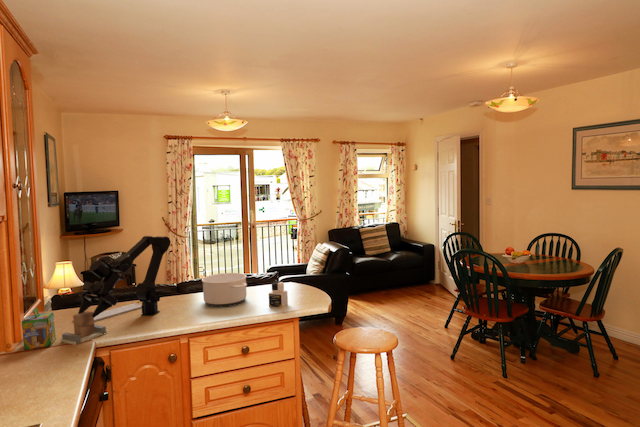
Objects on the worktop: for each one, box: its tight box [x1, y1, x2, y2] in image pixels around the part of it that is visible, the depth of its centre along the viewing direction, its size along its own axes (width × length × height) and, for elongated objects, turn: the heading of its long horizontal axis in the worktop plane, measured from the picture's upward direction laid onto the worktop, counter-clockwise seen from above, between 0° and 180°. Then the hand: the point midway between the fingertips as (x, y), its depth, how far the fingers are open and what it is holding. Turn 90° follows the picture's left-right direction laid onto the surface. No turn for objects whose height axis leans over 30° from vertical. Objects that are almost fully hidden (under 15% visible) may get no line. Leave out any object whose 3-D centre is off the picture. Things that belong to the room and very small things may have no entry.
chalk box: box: [21, 307, 57, 351], centre depth 164 cm, size 9×9×15 cm
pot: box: [201, 272, 248, 308], centre depth 216 cm, size 33×23×14 cm
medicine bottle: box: [268, 281, 289, 309], centre depth 206 cm, size 7×7×12 cm
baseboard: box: [71, 301, 142, 323], centre depth 203 cm, size 31×3×12 cm
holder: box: [60, 324, 108, 345], centre depth 171 cm, size 14×9×3 cm, turn 153°
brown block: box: [72, 310, 95, 338], centre depth 171 cm, size 6×4×9 cm
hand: (85, 315), depth 171 cm, fingers open, 9 cm apart
